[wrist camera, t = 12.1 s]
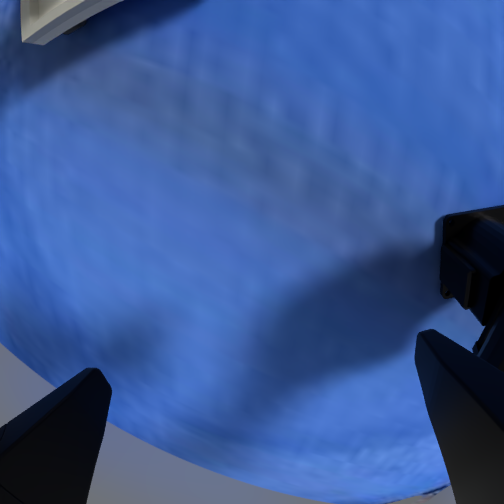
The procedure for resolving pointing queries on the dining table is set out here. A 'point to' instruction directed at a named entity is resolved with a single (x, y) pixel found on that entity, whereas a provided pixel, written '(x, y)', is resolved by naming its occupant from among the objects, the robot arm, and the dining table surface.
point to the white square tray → (56, 17)
